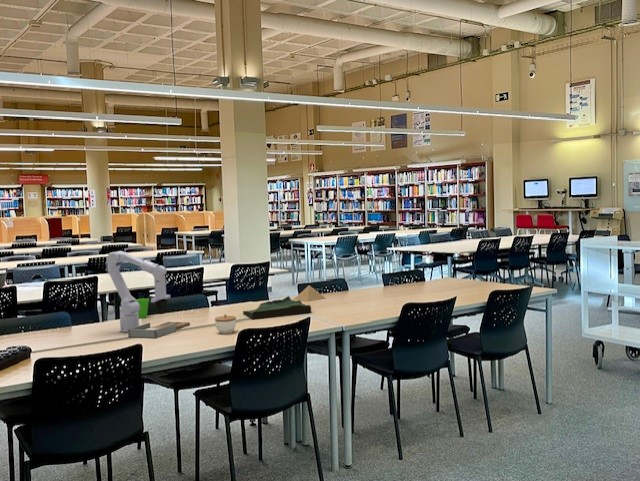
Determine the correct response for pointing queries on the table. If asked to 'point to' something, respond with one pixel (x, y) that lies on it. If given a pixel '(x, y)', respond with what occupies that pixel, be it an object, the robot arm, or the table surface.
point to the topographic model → (278, 309)
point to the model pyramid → (309, 295)
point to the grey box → (150, 331)
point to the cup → (143, 307)
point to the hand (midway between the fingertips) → (161, 313)
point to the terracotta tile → (158, 326)
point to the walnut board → (176, 324)
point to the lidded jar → (225, 324)
